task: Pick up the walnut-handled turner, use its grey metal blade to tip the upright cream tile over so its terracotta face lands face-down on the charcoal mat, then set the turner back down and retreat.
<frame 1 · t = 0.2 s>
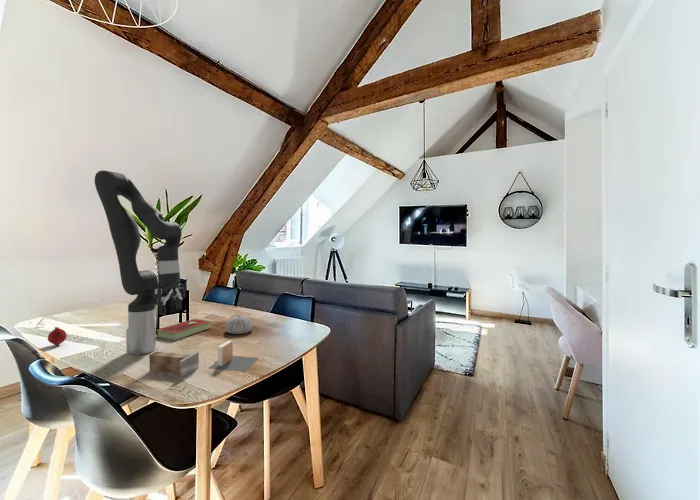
hand: (170, 311, 120), 17 cm above the table, tool pointing down, fingers open, 8 cm apart
hardcover book: (185, 333, 149), on the table
sea urchin shell: (239, 331, 152), on the table
mat: (235, 364, 113), on the table
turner: (170, 371, 106), on the table
onion: (57, 345, 129), on the table
tile: (225, 361, 114), resting on mat
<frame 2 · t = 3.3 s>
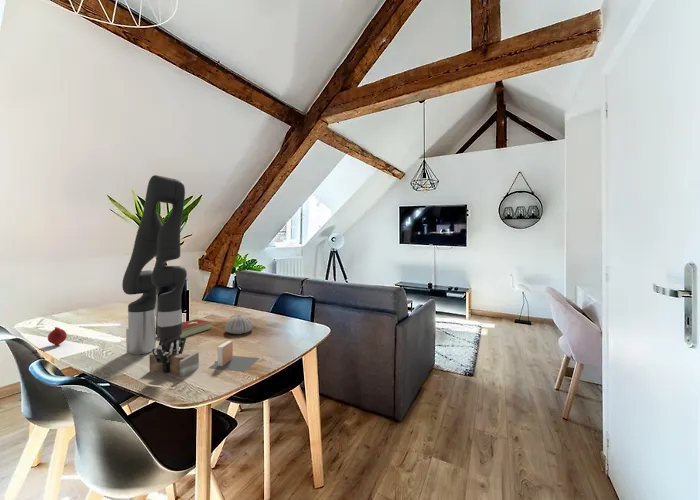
hand: (170, 370, 106), 0 cm above the table, tool pointing down, fingers closed on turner, 3 cm apart
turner: (170, 371, 106), on the table, touching gripper
everything else where it was.
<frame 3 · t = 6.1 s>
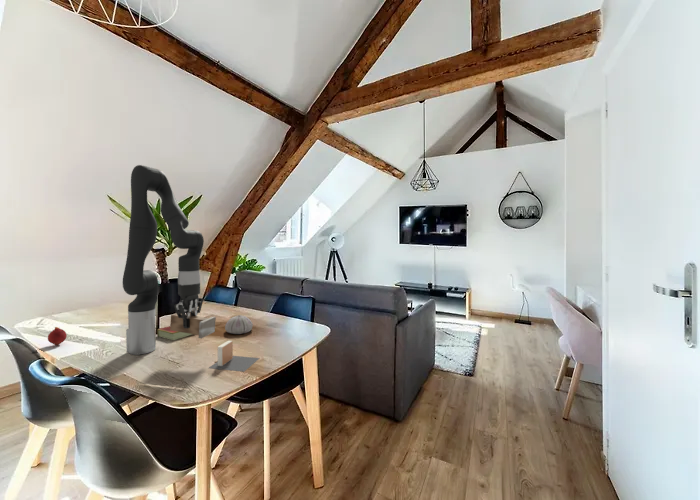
hand: (189, 326, 116), 13 cm above the table, tool pointing down, fingers closed on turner, 3 cm apart
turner: (189, 331, 116), point 11 cm above the table, touching gripper
everything else where it was.
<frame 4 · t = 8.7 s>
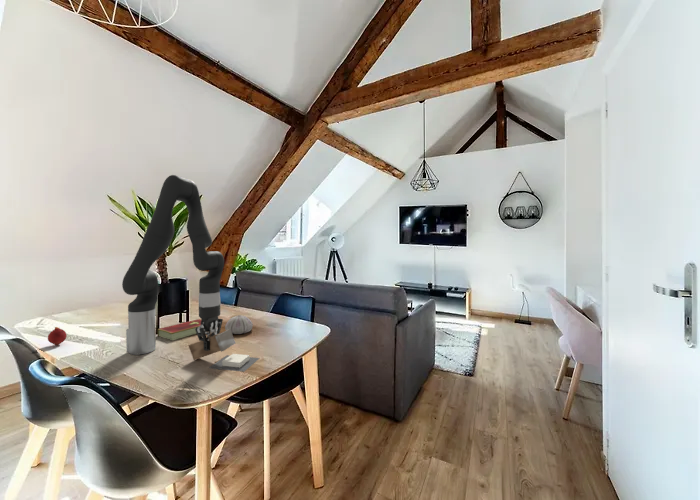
hand: (209, 348, 114), 5 cm above the table, tool pointing down, fingers closed on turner, 3 cm apart
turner: (211, 353, 114), point 3 cm above the table, tilted 22°, touching gripper
tile: (227, 359, 113), point 1 cm above the table, tilted 90°, touching mat
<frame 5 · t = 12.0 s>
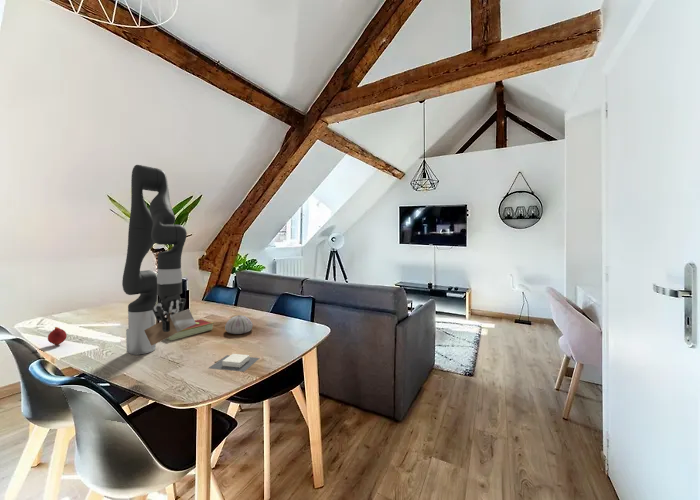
hand: (170, 329, 106), 15 cm above the table, tool pointing down, fingers closed on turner, 3 cm apart
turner: (170, 336, 106), point 12 cm above the table, tilted 28°, touching gripper
when the fingers open (2 cm above the table, at t = 14.6 s): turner stays where it is, on the table.
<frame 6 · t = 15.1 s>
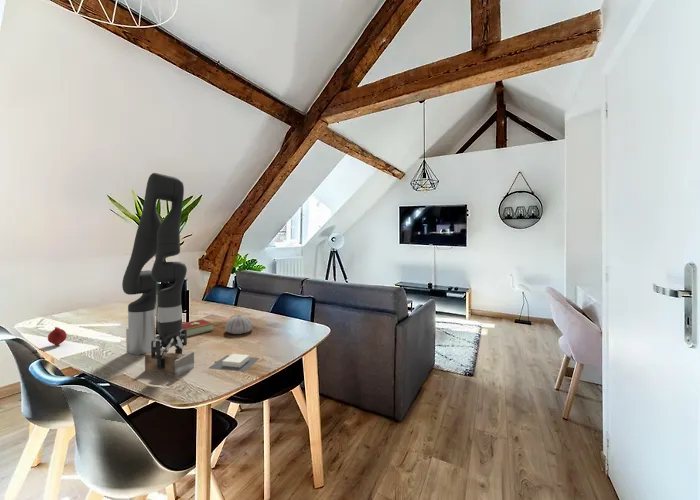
hand: (170, 363, 106), 3 cm above the table, tool pointing down, fingers open, 7 cm apart
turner: (165, 370, 107), on the table
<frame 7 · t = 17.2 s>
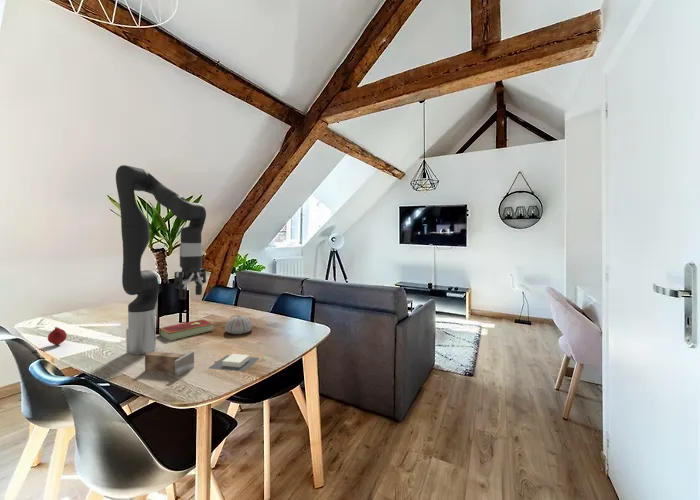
hand: (190, 296, 115), 25 cm above the table, tool pointing down, fingers open, 8 cm apart
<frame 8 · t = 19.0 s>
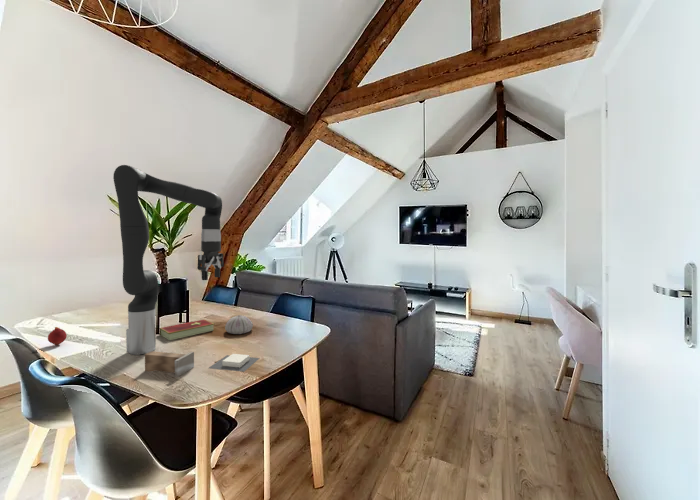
hand: (211, 278, 126), 30 cm above the table, tool pointing down, fingers open, 8 cm apart
at the end: tile tilted 90°; tile inside the target area (3.0 cm from its centre), point 1.5 cm above the table; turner inside the target area (1.9 cm from its centre), on the table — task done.
